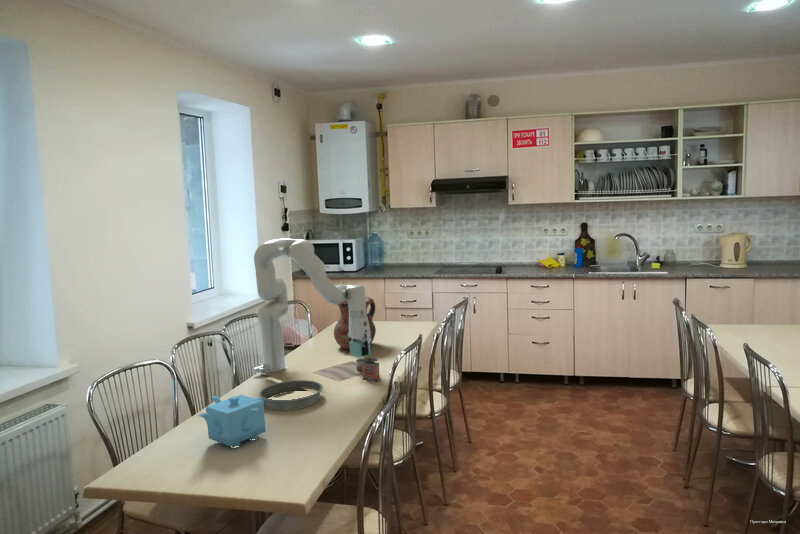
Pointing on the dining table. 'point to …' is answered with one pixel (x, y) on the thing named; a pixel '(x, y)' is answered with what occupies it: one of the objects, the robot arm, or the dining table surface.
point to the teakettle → (235, 419)
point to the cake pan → (288, 387)
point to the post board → (343, 370)
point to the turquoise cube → (357, 348)
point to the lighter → (370, 369)
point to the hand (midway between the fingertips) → (360, 353)
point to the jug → (343, 323)
